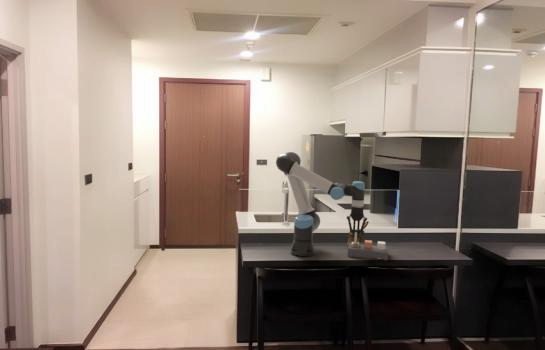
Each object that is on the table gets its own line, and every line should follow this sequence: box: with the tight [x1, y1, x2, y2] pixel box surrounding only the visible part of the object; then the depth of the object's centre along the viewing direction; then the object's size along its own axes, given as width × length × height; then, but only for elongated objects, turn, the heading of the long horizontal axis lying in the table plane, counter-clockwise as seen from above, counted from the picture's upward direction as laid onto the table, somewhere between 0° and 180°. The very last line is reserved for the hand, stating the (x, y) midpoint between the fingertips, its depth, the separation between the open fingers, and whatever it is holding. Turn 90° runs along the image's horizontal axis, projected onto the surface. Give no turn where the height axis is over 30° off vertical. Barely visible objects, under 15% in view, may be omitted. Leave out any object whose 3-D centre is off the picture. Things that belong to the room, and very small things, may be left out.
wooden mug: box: [346, 220, 370, 248], centre depth 268 cm, size 9×14×18 cm, turn 87°
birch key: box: [351, 242, 359, 248], centre depth 255 cm, size 4×4×5 cm
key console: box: [347, 243, 389, 259], centre depth 253 cm, size 24×12×5 cm, turn 77°
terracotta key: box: [364, 239, 373, 249], centre depth 253 cm, size 4×4×5 cm
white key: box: [376, 240, 386, 250], centre depth 251 cm, size 4×4×5 cm
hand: (355, 242), depth 254 cm, fingers closed
